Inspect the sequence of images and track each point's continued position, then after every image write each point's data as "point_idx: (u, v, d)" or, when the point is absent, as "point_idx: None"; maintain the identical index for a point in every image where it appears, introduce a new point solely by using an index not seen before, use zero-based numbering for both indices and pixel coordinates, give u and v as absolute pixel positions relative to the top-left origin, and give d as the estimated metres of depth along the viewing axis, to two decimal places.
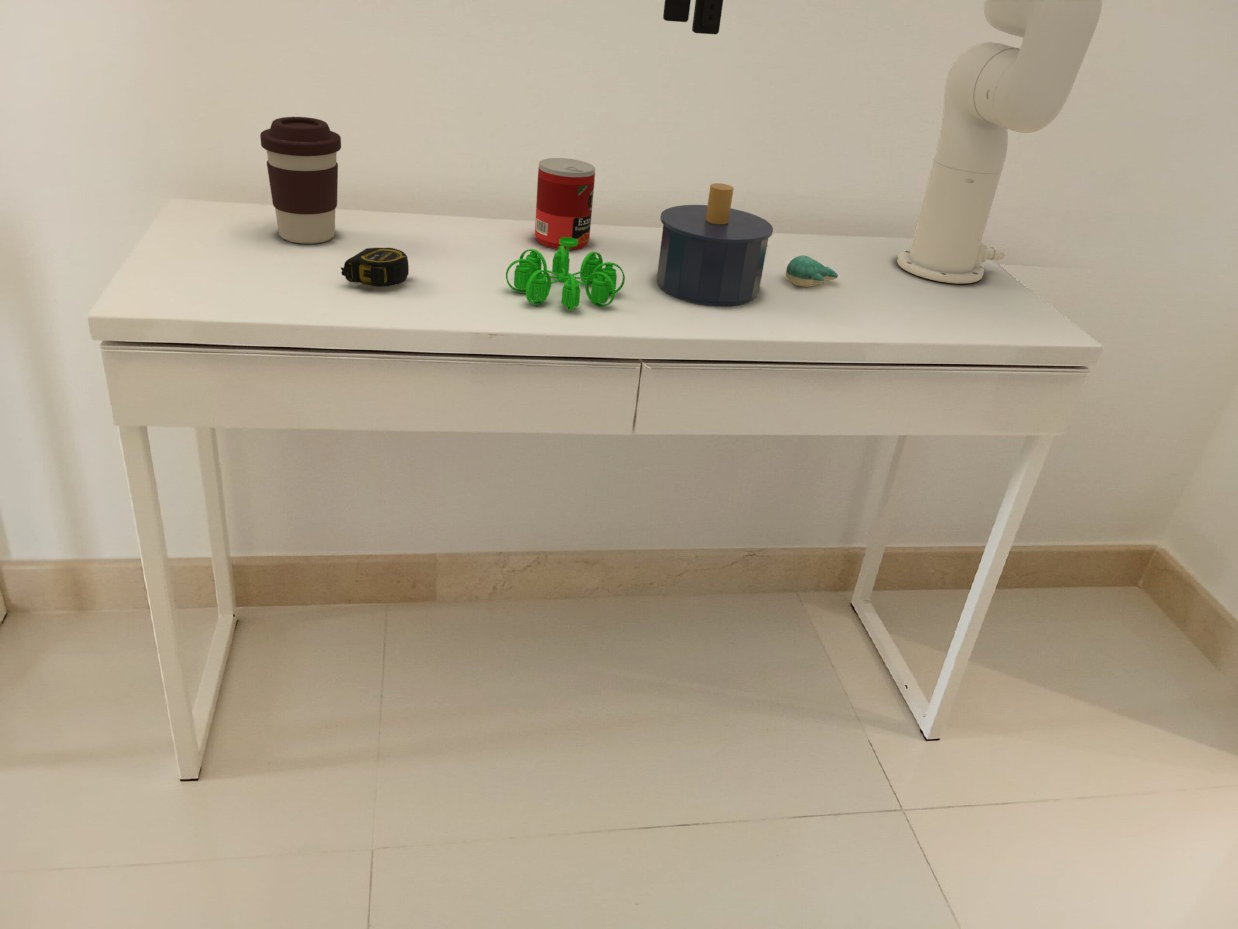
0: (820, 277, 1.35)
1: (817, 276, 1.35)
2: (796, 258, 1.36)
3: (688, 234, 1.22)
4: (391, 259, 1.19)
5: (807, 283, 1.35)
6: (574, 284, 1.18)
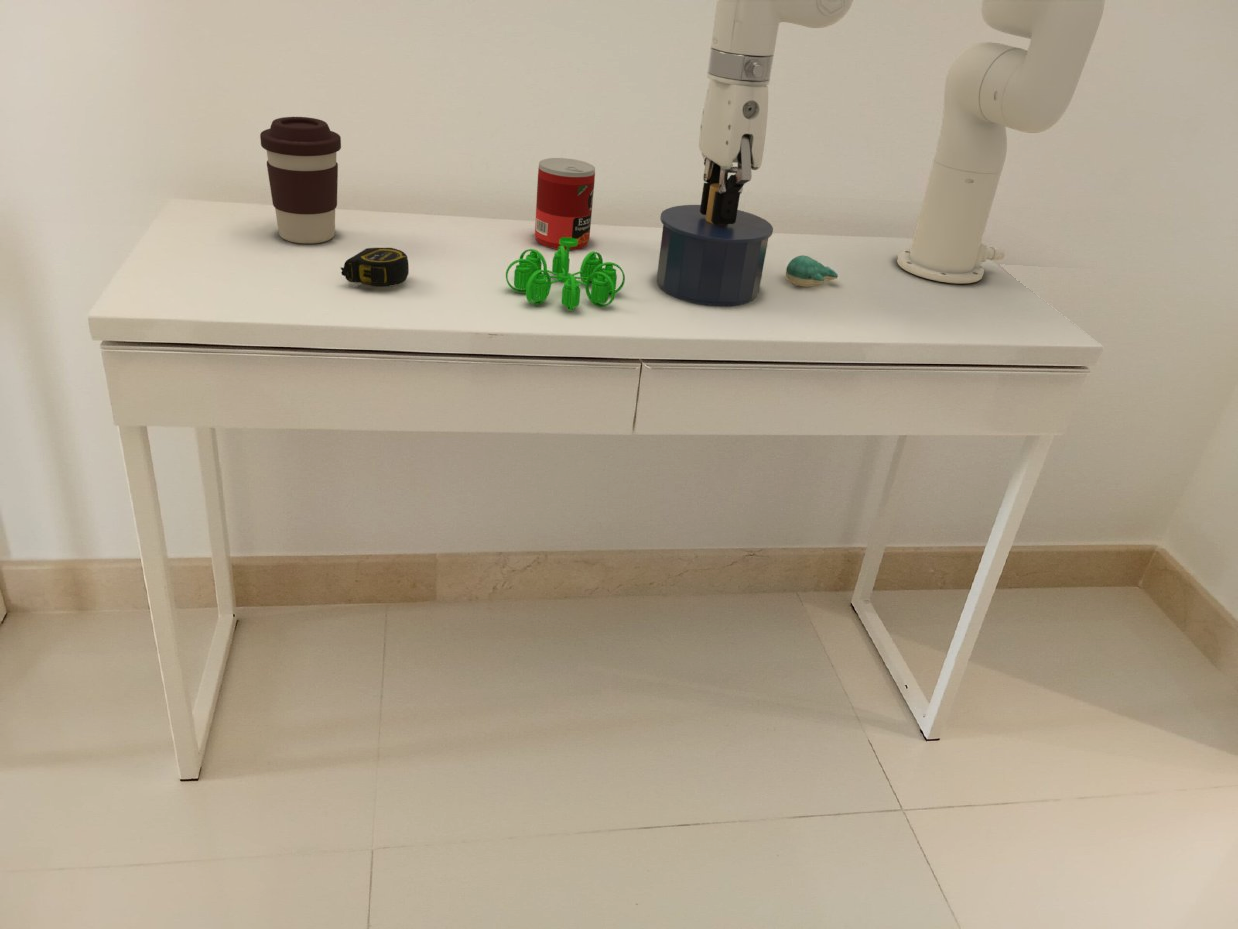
0: (820, 277, 1.35)
1: (817, 276, 1.35)
2: (796, 258, 1.36)
3: (688, 234, 1.22)
4: (391, 259, 1.19)
5: (807, 283, 1.35)
6: (574, 284, 1.18)
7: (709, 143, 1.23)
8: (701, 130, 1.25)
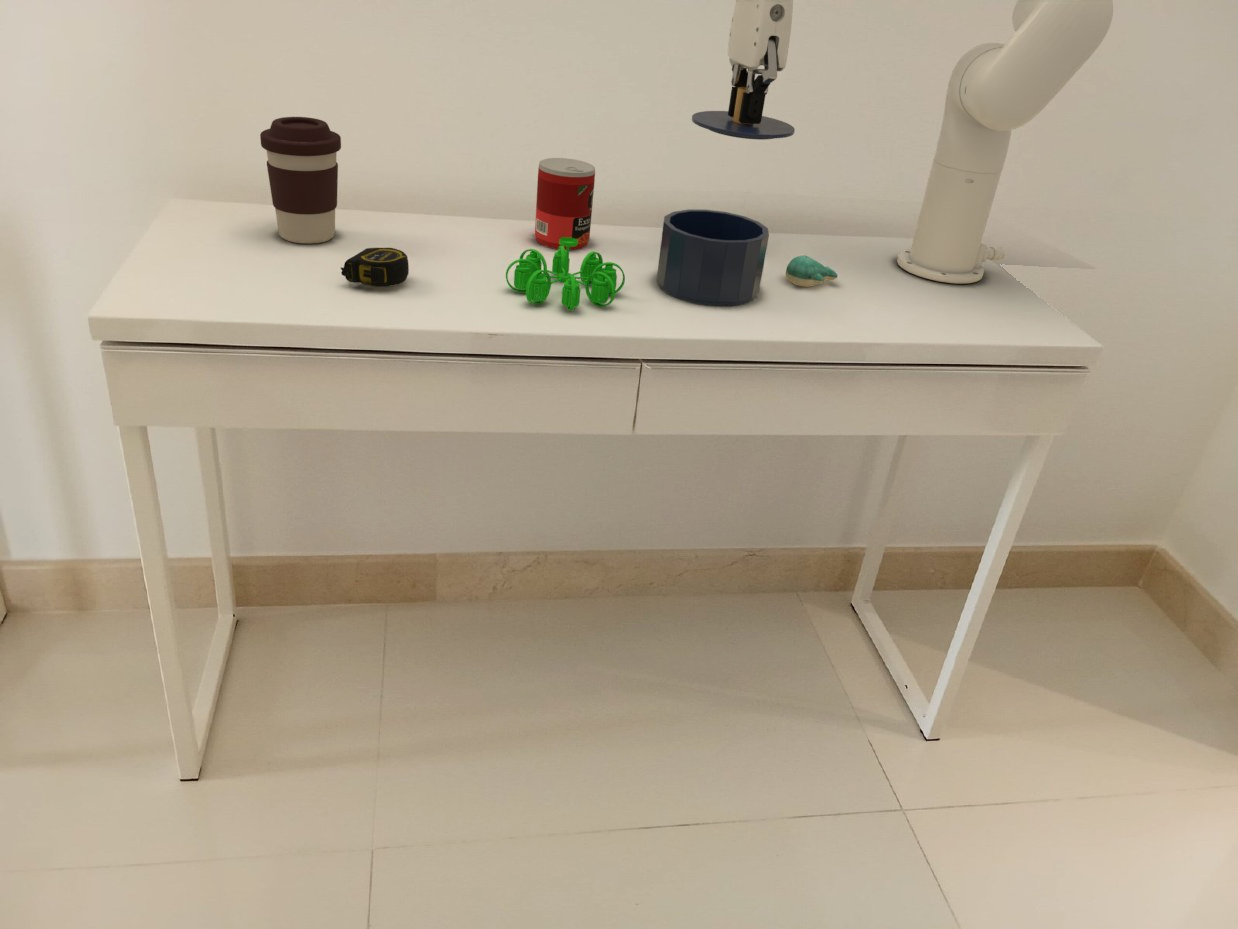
0: (820, 277, 1.35)
1: (817, 276, 1.35)
2: (796, 258, 1.36)
3: (718, 130, 1.35)
4: (391, 259, 1.19)
5: (807, 283, 1.35)
6: (574, 284, 1.18)
7: (738, 47, 1.35)
8: (730, 37, 1.37)
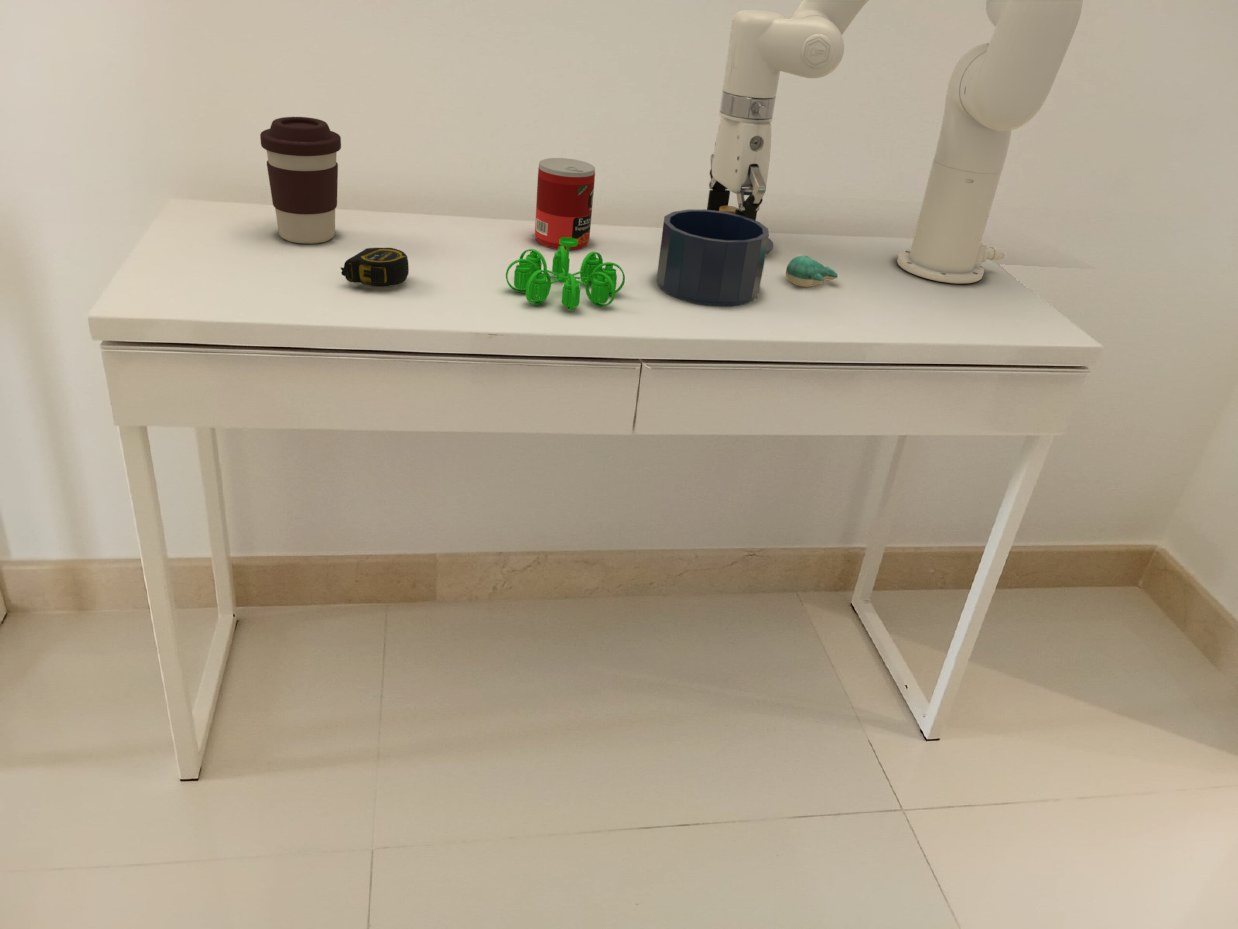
0: (820, 277, 1.35)
1: (817, 276, 1.35)
2: (796, 258, 1.36)
3: None
4: (391, 259, 1.19)
5: (807, 283, 1.35)
6: (574, 284, 1.18)
7: (721, 171, 1.43)
8: (714, 159, 1.46)
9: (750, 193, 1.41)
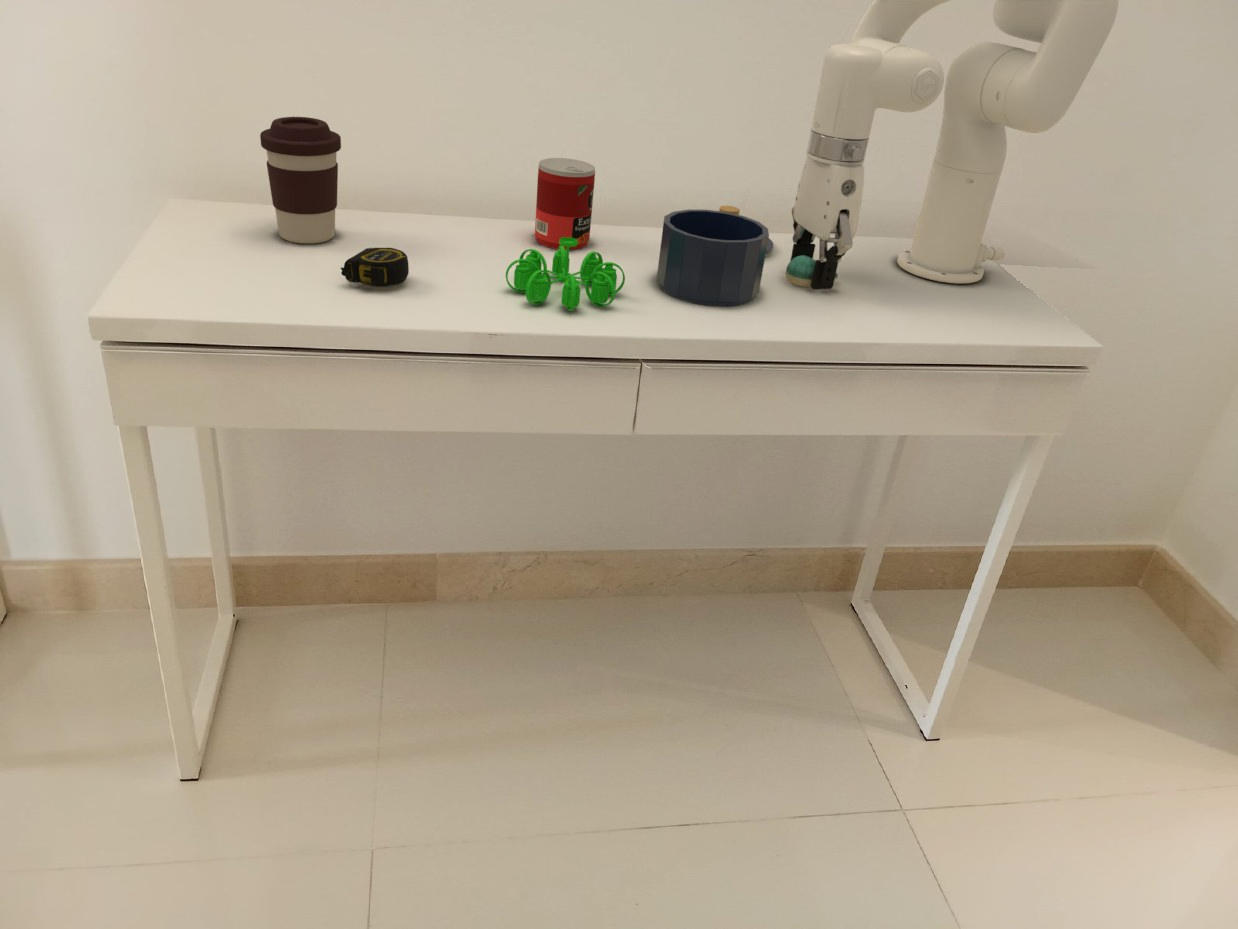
0: None
1: None
2: (796, 258, 1.36)
3: None
4: (391, 259, 1.19)
5: (807, 283, 1.35)
6: (574, 284, 1.18)
7: (805, 215, 1.33)
8: (796, 202, 1.35)
9: (834, 242, 1.32)
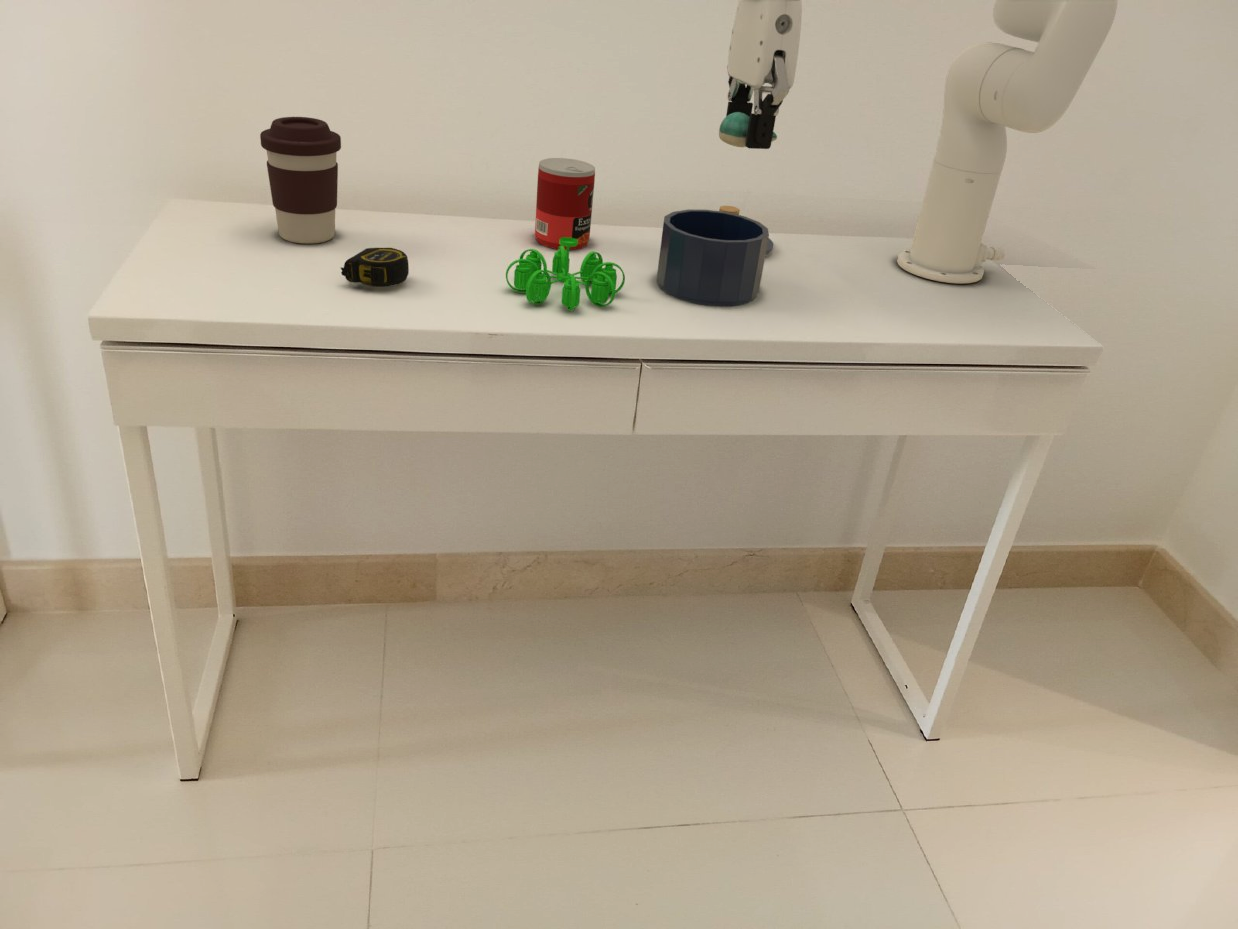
0: None
1: None
2: (730, 114, 1.22)
3: None
4: (391, 259, 1.19)
5: (742, 142, 1.21)
6: (574, 284, 1.18)
7: (739, 63, 1.19)
8: (730, 51, 1.21)
9: (770, 92, 1.18)
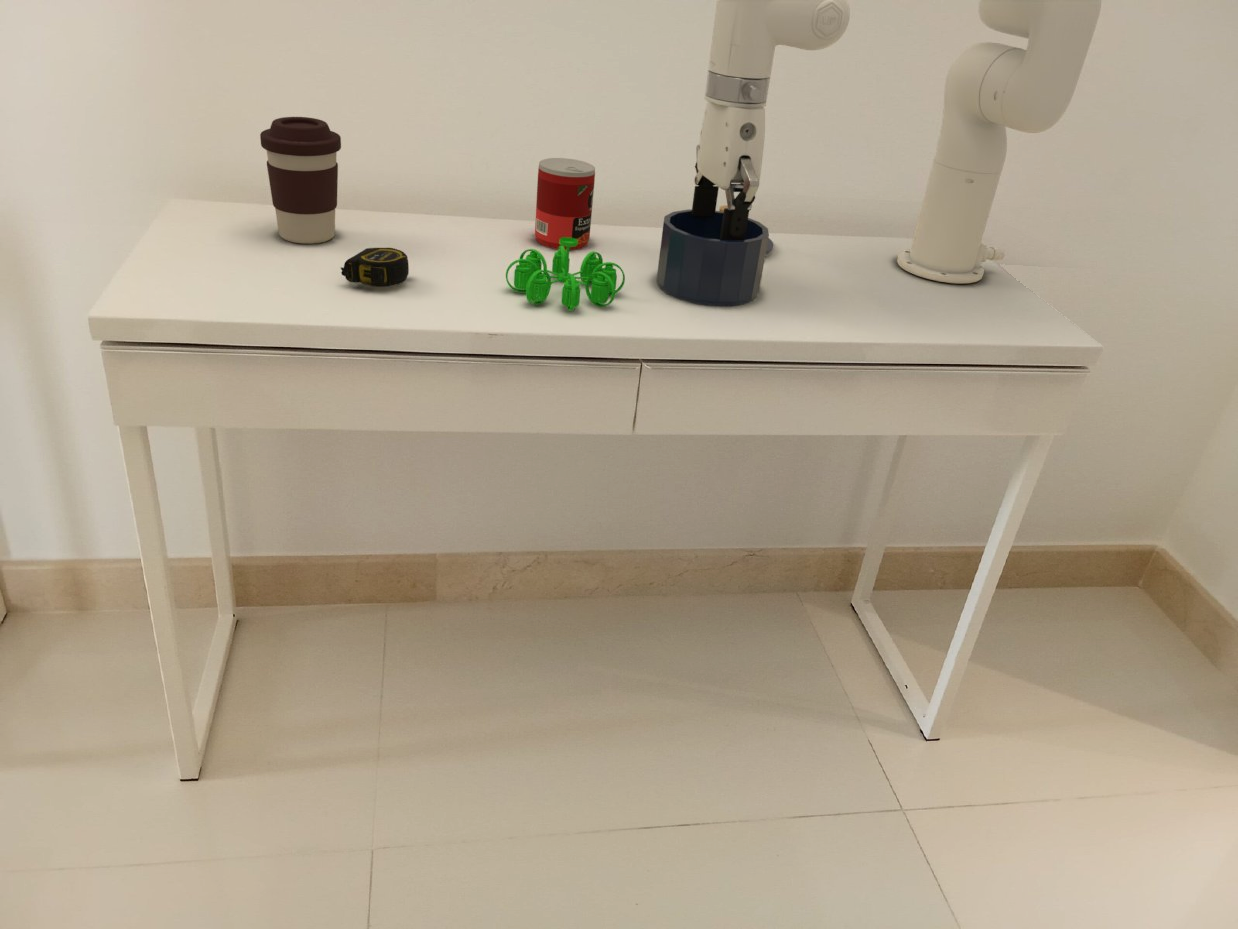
0: None
1: None
2: None
3: None
4: (391, 259, 1.19)
5: None
6: (574, 284, 1.18)
7: (707, 164, 1.24)
8: (699, 150, 1.26)
9: (741, 189, 1.22)
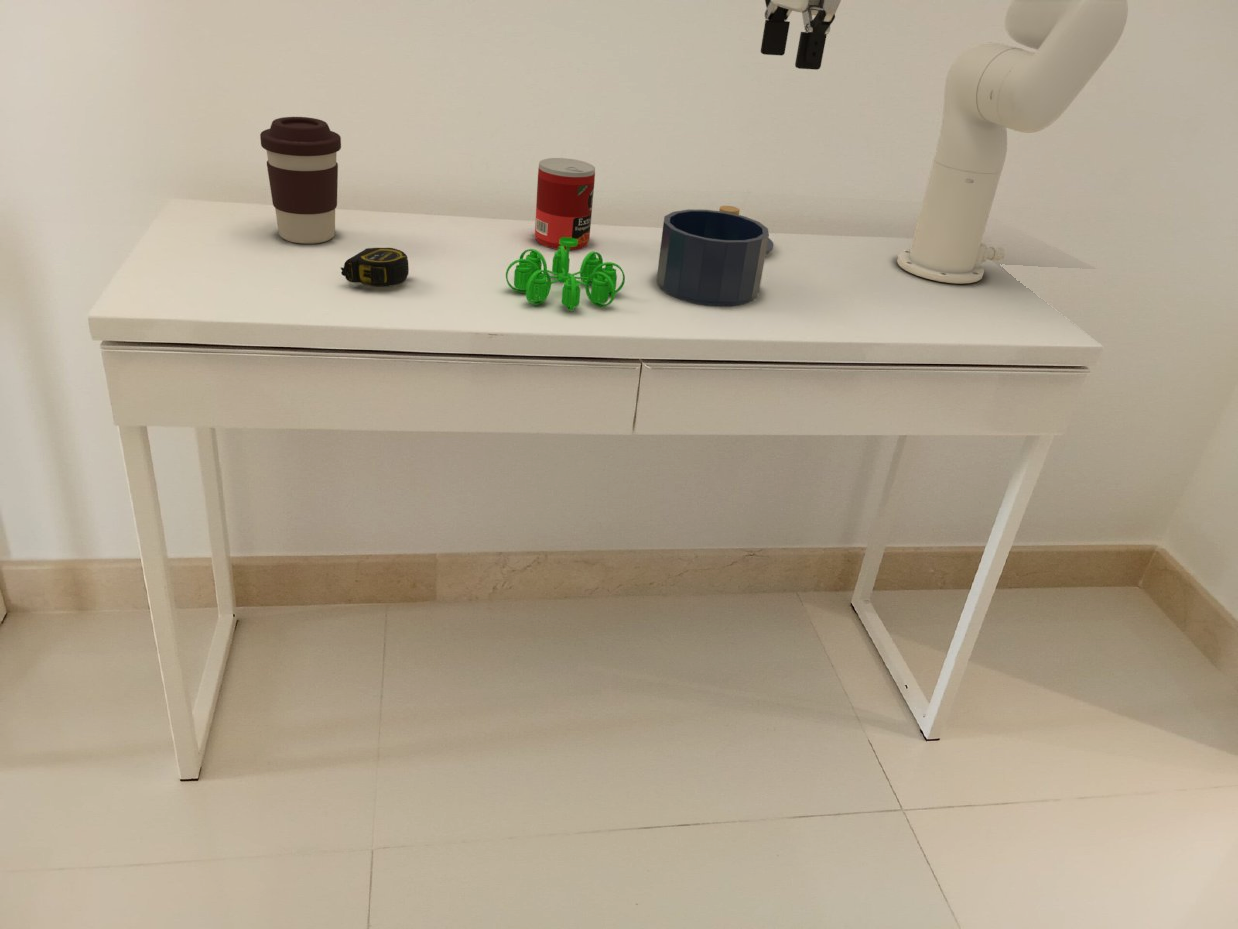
0: None
1: None
2: None
3: None
4: (391, 259, 1.19)
5: None
6: (574, 284, 1.18)
7: None
8: None
9: (818, 12, 1.17)
